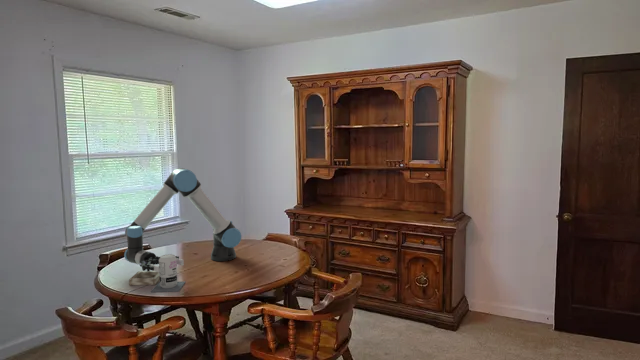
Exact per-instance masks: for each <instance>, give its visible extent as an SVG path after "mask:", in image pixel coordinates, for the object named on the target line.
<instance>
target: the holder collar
mask: <svg viewBox="0 0 640 360" xmlns="http://www.w3.org/2000/svg"><path fill="white" fill-rule="evenodd" d="M128 281H129V286H147V285H153V286H154V285H155V286H156V285H157V284H158V283H159V282H160V278H159V272H155V271H152V270H150V271H149V272H147V270H145V271H143V270H142V271H141V270H140V271H137V272H136V273H135V274H134V275H132V276H131V277H130V278H129V279H128Z"/></svg>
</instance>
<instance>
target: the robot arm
mask: <svg viewBox="0 0 640 360" xmlns="http://www.w3.org/2000/svg"><path fill="white" fill-rule="evenodd" d="M179 193H180V194H181V196H182V197H183V198H188V200H189V201H190V202H191V203H192V205H193V206H194V207H195V208H196V209H197V210H198V212H199V213H200V215H202V217H203V218H204V219H205V221H207V222H208V224H209V225H210V227H211V228H212V232H213V233H212V235H213V236H212V237H213V239H212V240H213V242H212V243H213V247H212V250H211V253H210V259H211V260H212V261H215V262H228V260H229V261H232V259H233V260H235V259H236V258H237V253H236V250H235V247H237V246H238V245H239V244H240V243H241V241H242V233H241V231H240V230H239V229H238V228H237V227H235V225H234V224H233V221H232V220H230V219H226V218H225V217H224V215H222V213H221V212H220V211H219V209H218V208H217V207H216V206H215V204H214V203H213V202H212V201H211V199H210V198H209V197H208V196H207V194H206V193H205V192H204V191H203V189H202V183H201V182H200V181H199V180H198V178H197V176H196V173H194V172H193V171H191V170H190V169H186V168H183V167H182V168H180V167H179V168H176V169H174V170H173V171H172V172H171V173H170V175H169V176H168V177H167V178H166V180H165V181H164V182H163V186H162V187H161V188H160V190H159V191H158V192H157V193H156V194H155V196H154V197H153V198H152V199H151V200H150V201H149V203H148V204H147V205H146V206H145V207H144V208H143V210H142V211H141V212H140V213H139V215H137V217H136V218H135V219H134V220H133V222H132V223H131V224H129V225H128V226H126V228H125V230H124V234H125V237H126V241H127V249H125V251H124V254H123V256H124V259H125V260H126V261H127V262H129V263H132V264H136V265H139V267H141V269H142V271H147V272H149V271H155V272H160V270H159V259H160V256H158V255H157V254H155V253H153V252H150V251H147V250H144V245H143V243H144V241H143V240H144V239H143V238H144V237H143V236H144V235H143V234H144V231H145V230H146V229H147V228H148V227H149V225H150V224H151V223H152V221H153V220H154V219H155V218H156V217H157V215H158V214H159V213H160V212H161V211H162V210H163V208H164V207H165V206H166V205H167V204H168V202H170V200H171V199H172V198H173V196H174V195H177V194H179ZM163 255H164V254H163ZM163 255H161V256H163ZM175 257H176V258H177V266H178V265H180V266H184V264H185V263H184V259H182V258H180V256H177V255H175ZM234 258H235V259H234Z"/></svg>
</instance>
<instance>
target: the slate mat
mask: <svg viewBox="0 0 640 360" xmlns="http://www.w3.org/2000/svg"><path fill="white" fill-rule="evenodd" d="M185 284H186V281H177V285H176V286H175V287H172V288H162V287H160V281H159V282H158V283H157V284H156V285H155V286H154V287H153V288H152V289H151V291H150V292H151V293H176V292H180V291H181V289H182V288H183V286H185Z"/></svg>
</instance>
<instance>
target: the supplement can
mask: <svg viewBox="0 0 640 360" xmlns="http://www.w3.org/2000/svg"><path fill="white" fill-rule="evenodd" d="M175 256H176V255H175V254H172V253H171V254H170V253H169V254H163V256H162V255H160V256H159V257H160V259H159V264H158V266H159V270H160V272H159V278H160V281H159V282H160V287H162V288H172V287H175V286H176V285H177V282H178V267H177V266H178V264H177V258H176V257H175Z"/></svg>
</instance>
